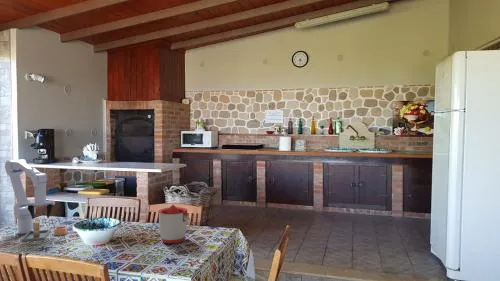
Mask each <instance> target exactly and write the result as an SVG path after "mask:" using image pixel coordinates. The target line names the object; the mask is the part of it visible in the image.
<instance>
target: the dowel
mask: <svg viewBox="0 0 500 281" xmlns="http://www.w3.org/2000/svg"><path fill="white" fill-rule="evenodd" d="M40 230H41V229H40V221H33V237H39V236H40Z"/></svg>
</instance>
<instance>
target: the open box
mask: <svg viewBox="0 0 500 281" xmlns="http://www.w3.org/2000/svg"><path fill="white" fill-rule="evenodd" d="M67 233H68V226H67V225H63V226H55V228H54V229H53V236H62V235H63V236H64V235H66V234H67Z"/></svg>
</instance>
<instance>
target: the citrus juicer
mask: <svg viewBox="0 0 500 281" xmlns="http://www.w3.org/2000/svg"><path fill="white" fill-rule="evenodd" d="M157 212H158V231H159V236H160V239H161V241H162V242H163V243H165V244H179V243H182V242H183V241H185V238H186V234H187V229H188V222H190V221H191V217H190V216H188V209H187V208H185V207H177V206H175V205H174V204H172V205H171V206H170V207H165V208H161V209H159V210H158V211H157Z"/></svg>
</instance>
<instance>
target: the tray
mask: <svg viewBox="0 0 500 281" xmlns="http://www.w3.org/2000/svg"><path fill="white" fill-rule="evenodd" d="M39 230H40V236H39V237H33V231H29V232H28V233H25V235H24V236H23V237H22V238H21V239H20V241H21V242H22V243H23V242H32V241H33V242H35V241H44V240H45V239H46V238H47V237H48V236H49V235H50V233H51V229H39Z"/></svg>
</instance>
